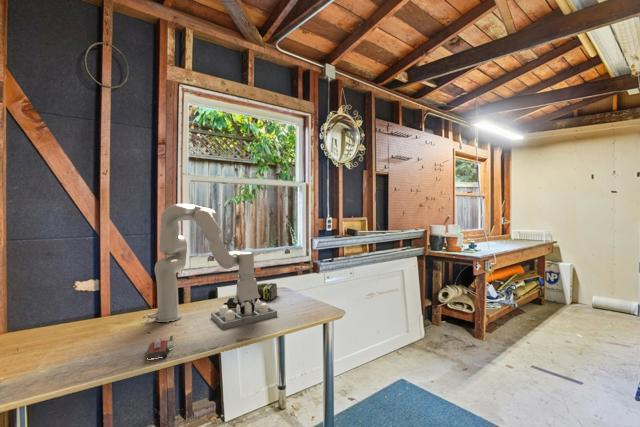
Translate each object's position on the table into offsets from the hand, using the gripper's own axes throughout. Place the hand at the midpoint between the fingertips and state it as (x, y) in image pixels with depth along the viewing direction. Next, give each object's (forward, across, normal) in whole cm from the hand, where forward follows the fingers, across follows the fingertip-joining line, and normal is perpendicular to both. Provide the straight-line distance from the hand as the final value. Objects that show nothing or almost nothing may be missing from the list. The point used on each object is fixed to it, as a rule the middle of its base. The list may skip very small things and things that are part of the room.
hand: (247, 312), depth 158 cm
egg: (+1, 0, 0) cm, 1 cm away
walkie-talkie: (+4, -41, -11) cm, 42 cm away
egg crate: (+4, 0, +4) cm, 6 cm away
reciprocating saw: (+4, +16, +28) cm, 32 cm away
